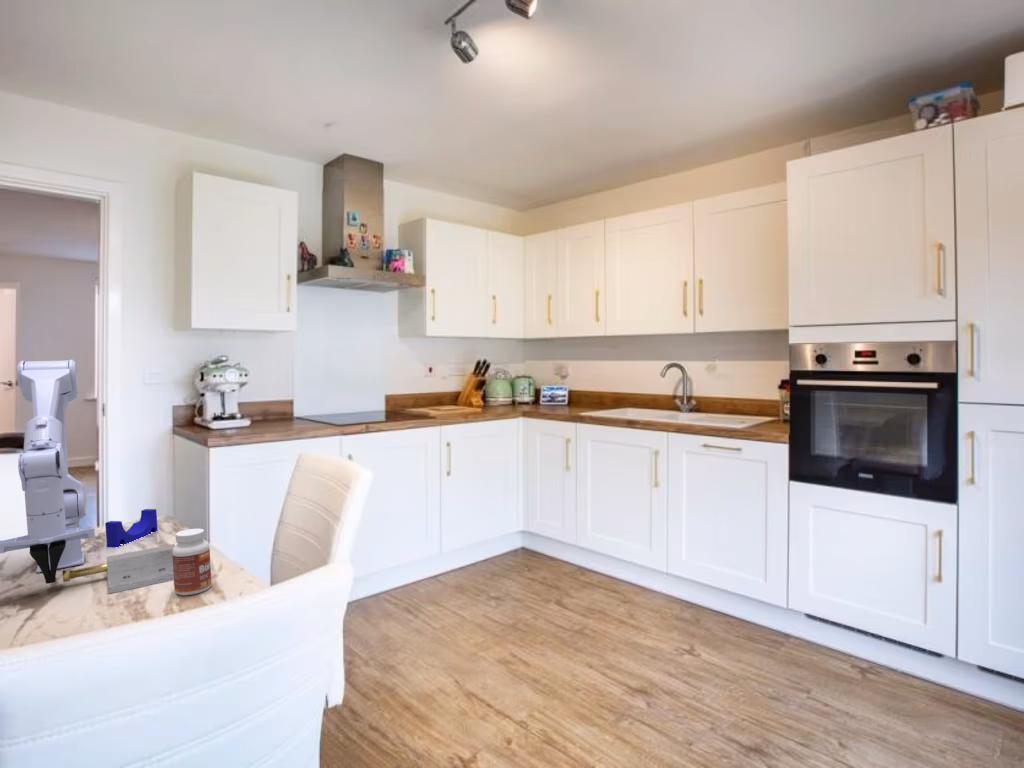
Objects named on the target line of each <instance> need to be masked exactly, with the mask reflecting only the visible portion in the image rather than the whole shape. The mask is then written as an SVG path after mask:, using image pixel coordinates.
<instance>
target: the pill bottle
mask: <svg viewBox="0 0 1024 768" xmlns="http://www.w3.org/2000/svg"><path fill="white" fill-rule="evenodd" d="M204 539H205V530H204V529H203V528H188V529H184V530H181V531H177V532H176V533H175V542H176V543H177V544H175V547H174V548H173V550H172V558H173V573H174V580H173V589H174V592H175V594H176V595H178V596H183V597H185V596H191V595H197V594H200V593H203V592H205V591H207V590H209V589H210V587H211V586H212V569H211V568H212V567H211V549H210V544H209V543H208V542H207V541H206V540H204Z"/></svg>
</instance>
